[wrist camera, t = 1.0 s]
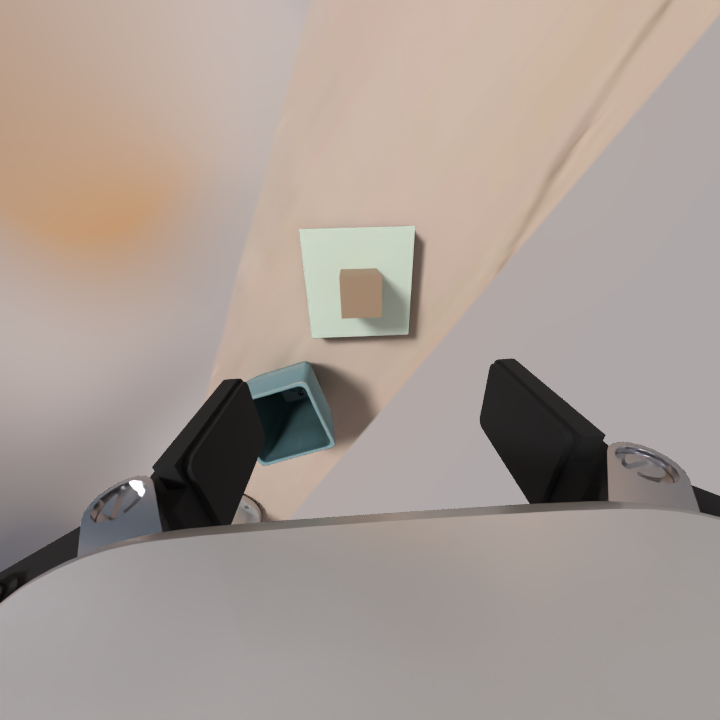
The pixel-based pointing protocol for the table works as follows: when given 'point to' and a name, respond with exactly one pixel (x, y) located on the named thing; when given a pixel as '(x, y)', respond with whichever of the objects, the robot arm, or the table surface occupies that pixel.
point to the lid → (358, 280)
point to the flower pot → (291, 413)
